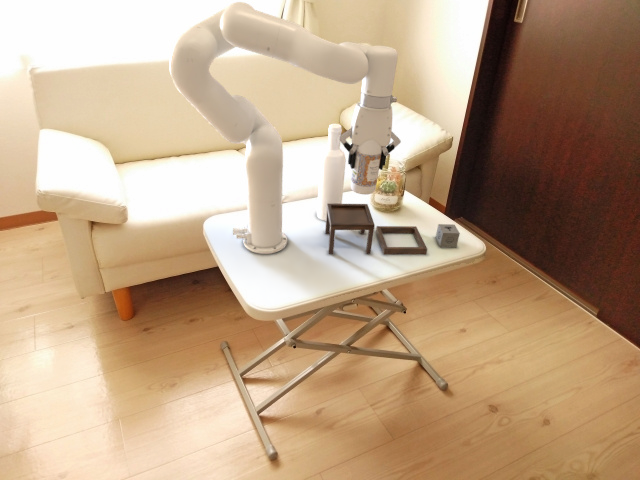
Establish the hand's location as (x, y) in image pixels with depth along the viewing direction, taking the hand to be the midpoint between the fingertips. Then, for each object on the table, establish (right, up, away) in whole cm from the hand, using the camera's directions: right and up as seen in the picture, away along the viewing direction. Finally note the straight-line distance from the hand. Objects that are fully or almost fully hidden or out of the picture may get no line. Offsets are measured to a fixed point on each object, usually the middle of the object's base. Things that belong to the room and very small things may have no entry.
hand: (366, 166), depth 121 cm
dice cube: (+26, -21, +16) cm, 36 cm away
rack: (+4, -20, +14) cm, 25 cm away
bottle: (-10, -12, +26) cm, 30 cm away
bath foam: (-1, -6, +4) cm, 7 cm away
